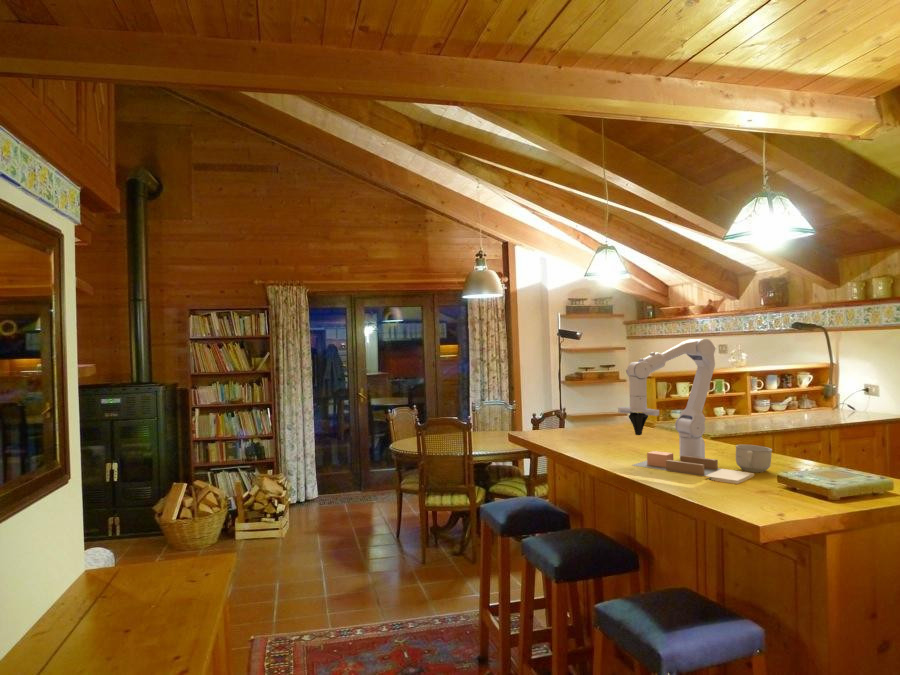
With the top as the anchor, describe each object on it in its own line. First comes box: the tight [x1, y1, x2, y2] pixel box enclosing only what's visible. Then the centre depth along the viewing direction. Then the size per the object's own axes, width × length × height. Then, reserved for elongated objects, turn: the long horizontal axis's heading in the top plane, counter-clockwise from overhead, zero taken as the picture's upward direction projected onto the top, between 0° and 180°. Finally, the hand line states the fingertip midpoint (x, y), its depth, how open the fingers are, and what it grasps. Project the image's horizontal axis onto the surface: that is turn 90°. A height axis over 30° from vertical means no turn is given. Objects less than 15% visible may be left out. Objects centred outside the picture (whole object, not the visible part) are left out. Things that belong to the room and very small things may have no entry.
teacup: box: [735, 444, 773, 473], centre depth 203 cm, size 14×11×8 cm
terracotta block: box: [646, 450, 674, 467], centre depth 211 cm, size 5×7×4 cm
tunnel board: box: [631, 455, 755, 485], centre depth 203 cm, size 14×35×4 cm, turn 45°
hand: (638, 434), depth 216 cm, fingers closed
